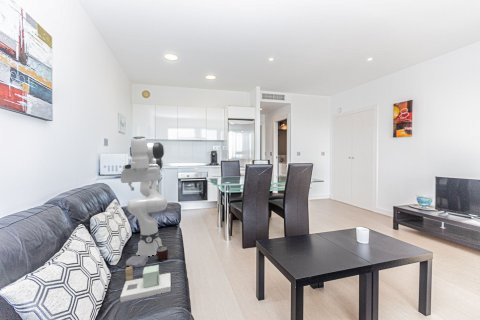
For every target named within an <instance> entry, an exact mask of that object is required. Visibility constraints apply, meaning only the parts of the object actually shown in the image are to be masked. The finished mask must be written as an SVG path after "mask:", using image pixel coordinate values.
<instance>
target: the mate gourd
mask: <svg viewBox="0 0 480 320" xmlns="http://www.w3.org/2000/svg"><path fill="white" fill-rule="evenodd" d="M153 240H155V239H153ZM155 241H156V242H157V244H158V241H157V240H155ZM156 253H157V255H156V256H157V261H160V263H161V262H163V261H162V260H163V259H166V260H168V255H169V250H168V247H167V246H166V245H163V246H159V244H158V248H157V251H156Z"/></svg>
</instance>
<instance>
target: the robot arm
mask: <svg viewBox="0 0 480 320" xmlns="http://www.w3.org/2000/svg"><path fill="white" fill-rule="evenodd" d="M164 155H165V148H164V145H163V144H162V143H161V142H148V140H147V137H146V136H133V137H131V141H130V147H129V156H130V157H131V162H129V163H127V164H124V165H123V166H122V171H121V174H120V182H121V183H122V184H126V183H127V184H128V186H129V187H130V191H131V192H132V191H135V187H134V186H132V184H133V183H140V184H139V185H140V186H139V191H140V193H141V195H142V197H136V198H135V197H134V198H131V199H130V200H129V201H128V203H127V205H126V207H127V208H126V209H127V211H128V212H129V213H130V214H131V215H132V216H134V217H135V218H136V219H137V221H138V223H139V228H140V234H139V241H138V243H137V245H138V247H137V251H136V252H135V256H138V255H140V256H141V255H147V256H150V257H153V256H152V255H154V256H157V255H156V254H157V253H156V251H157V248H158V244H159V246H164V245H163V243H162V239H161V238H160V234H159V228H158V226H159V225H158V220H157V219H156V218H155V217H153V216H150V215H149V214H150V213H158V212H161V211H165V210H166V209H167V207H168V199H167V198H166V197H165V196H164V195H162V194H161V193H159V192H158V188H157V181H160V179H161V175H160V171H161V170H162V169H163V167H164V161H163V159H162V158H163V157H164ZM153 239H155V240H157V241H158V244H157V242H156V241H155V240H153Z"/></svg>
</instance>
